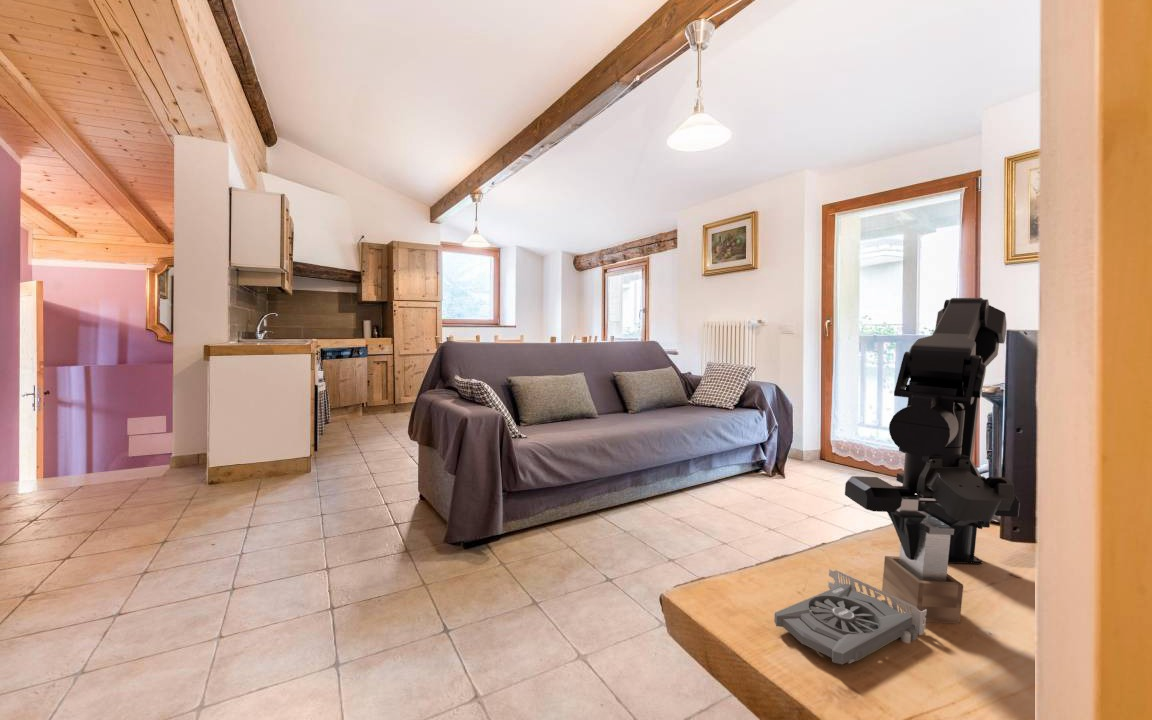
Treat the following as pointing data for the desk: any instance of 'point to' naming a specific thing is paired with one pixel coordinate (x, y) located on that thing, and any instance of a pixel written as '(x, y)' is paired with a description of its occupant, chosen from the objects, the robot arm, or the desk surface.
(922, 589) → the open wooden box
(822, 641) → the graphics card
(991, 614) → the desk surface
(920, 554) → the grey-ended wooden post
